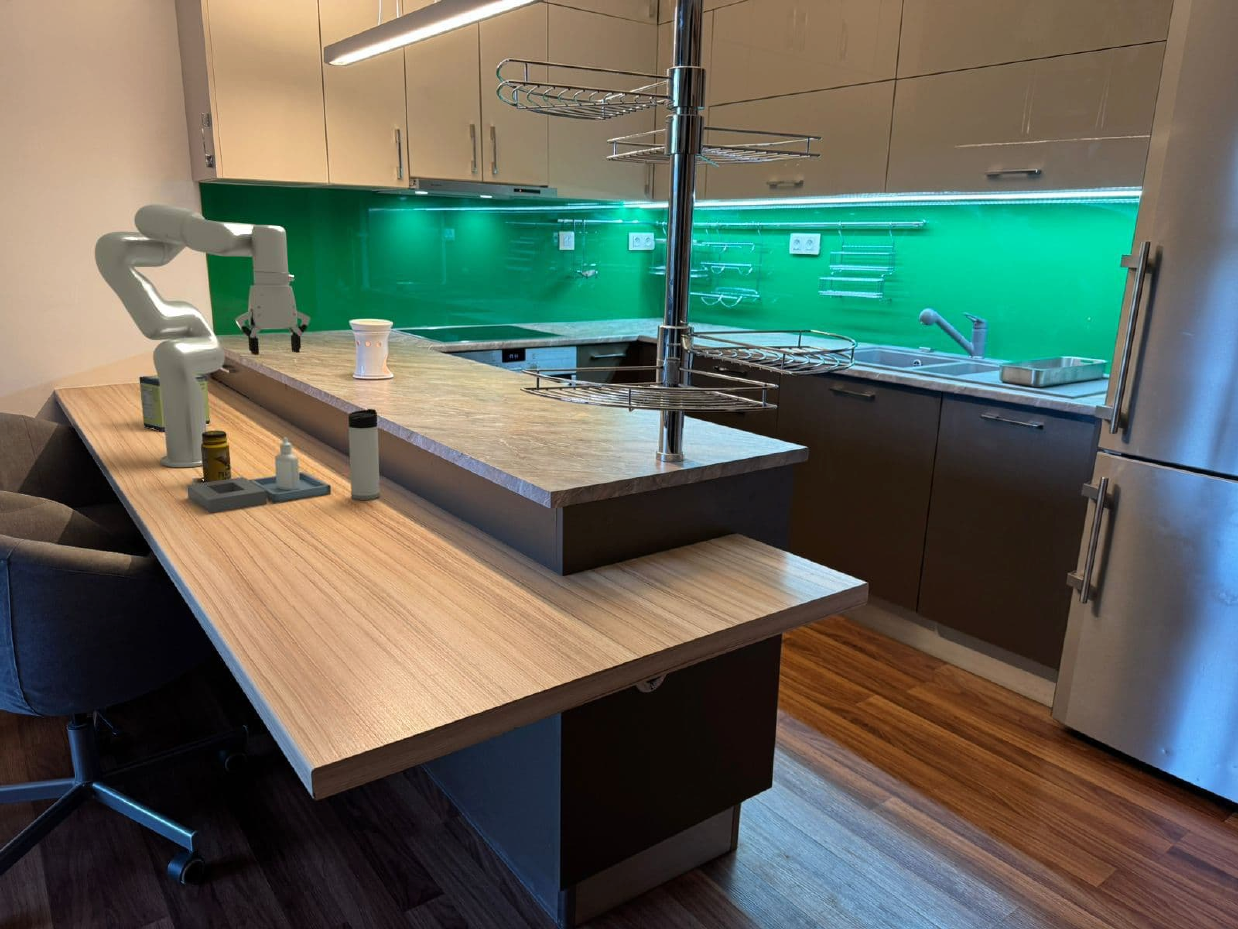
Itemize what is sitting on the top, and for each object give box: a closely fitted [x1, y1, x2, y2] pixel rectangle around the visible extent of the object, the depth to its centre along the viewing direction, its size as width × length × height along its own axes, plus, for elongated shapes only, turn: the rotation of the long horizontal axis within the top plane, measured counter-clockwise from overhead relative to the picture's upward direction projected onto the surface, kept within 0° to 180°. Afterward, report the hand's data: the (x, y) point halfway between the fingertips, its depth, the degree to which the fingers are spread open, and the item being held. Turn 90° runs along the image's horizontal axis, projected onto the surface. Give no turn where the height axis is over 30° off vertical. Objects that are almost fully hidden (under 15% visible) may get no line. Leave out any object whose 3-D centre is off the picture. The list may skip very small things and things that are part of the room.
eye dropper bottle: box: [274, 437, 300, 491], centre depth 195 cm, size 4×6×12 cm
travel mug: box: [348, 408, 381, 501], centre depth 192 cm, size 6×7×20 cm
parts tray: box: [248, 471, 332, 504], centre depth 197 cm, size 15×13×2 cm
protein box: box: [139, 374, 211, 432], centre depth 257 cm, size 10×16×16 cm
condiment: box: [191, 429, 233, 484], centre depth 201 cm, size 7×8×12 cm
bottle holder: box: [186, 476, 268, 514], centre depth 187 cm, size 14×12×3 cm
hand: (275, 353), depth 202 cm, fingers open, 9 cm apart
